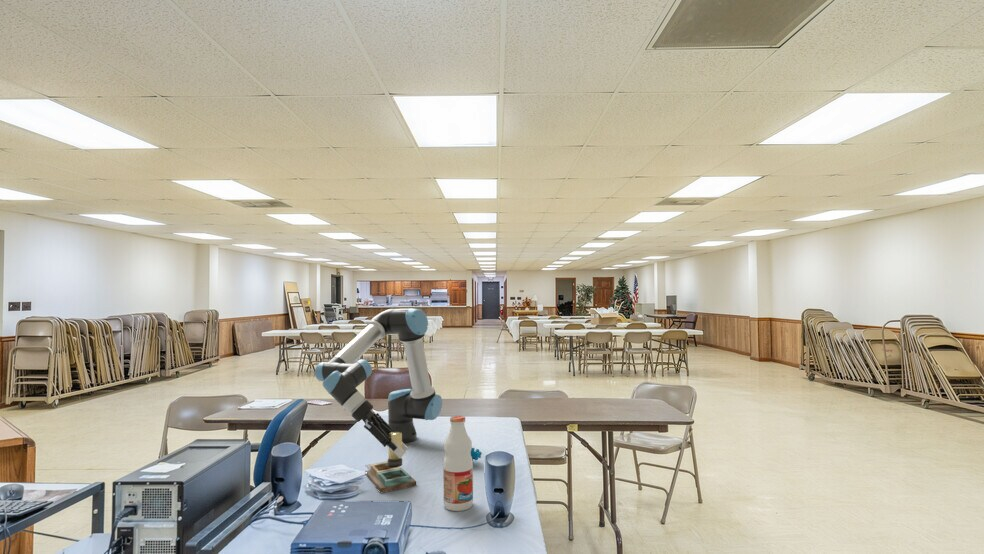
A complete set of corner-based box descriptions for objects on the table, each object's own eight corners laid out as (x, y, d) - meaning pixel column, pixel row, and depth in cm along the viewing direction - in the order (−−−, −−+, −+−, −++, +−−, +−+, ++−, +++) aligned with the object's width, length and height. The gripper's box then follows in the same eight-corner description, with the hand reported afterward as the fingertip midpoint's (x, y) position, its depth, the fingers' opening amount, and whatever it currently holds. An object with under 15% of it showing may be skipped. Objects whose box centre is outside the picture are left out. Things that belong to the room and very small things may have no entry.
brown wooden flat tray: (398, 468, 187) (398, 459, 187) (416, 485, 170) (416, 475, 170) (365, 475, 181) (365, 465, 181) (380, 493, 163) (380, 482, 163)
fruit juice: (451, 497, 159) (451, 412, 160) (477, 501, 155) (476, 414, 157) (438, 509, 150) (437, 419, 151) (465, 513, 146) (464, 421, 148)
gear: (483, 456, 195) (479, 444, 189) (484, 470, 191) (479, 458, 184) (457, 460, 196) (451, 448, 190) (457, 474, 192) (451, 462, 185)
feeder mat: (389, 462, 195) (389, 460, 195) (396, 468, 187) (396, 467, 187) (364, 466, 190) (364, 465, 190) (371, 473, 182) (371, 472, 182)
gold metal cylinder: (399, 461, 174) (400, 431, 175) (404, 465, 170) (404, 434, 170) (385, 463, 172) (386, 432, 173) (389, 468, 167) (390, 436, 168)
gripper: (358, 409, 181) (401, 453, 180) (343, 420, 163) (391, 469, 162) (372, 394, 181) (415, 438, 180) (359, 404, 163) (406, 453, 162)
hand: (403, 452), depth 171 cm, fingers closed on gold metal cylinder, 5 cm apart
